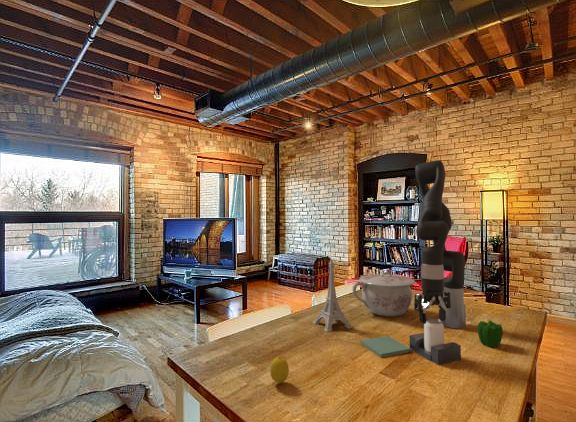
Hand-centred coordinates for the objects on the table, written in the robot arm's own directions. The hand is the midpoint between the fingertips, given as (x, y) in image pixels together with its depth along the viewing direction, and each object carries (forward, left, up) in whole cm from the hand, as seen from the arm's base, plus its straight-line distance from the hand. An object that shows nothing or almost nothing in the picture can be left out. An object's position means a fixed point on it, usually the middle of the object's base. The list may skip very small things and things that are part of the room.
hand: (432, 321), depth 114 cm
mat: (+13, -11, -12) cm, 20 cm away
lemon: (+58, -1, -12) cm, 59 cm away
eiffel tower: (+20, -40, -12) cm, 46 cm away
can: (0, 0, -12) cm, 12 cm away
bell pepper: (-26, +1, -12) cm, 29 cm away
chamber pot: (-14, -46, -12) cm, 49 cm away
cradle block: (0, 0, -12) cm, 12 cm away
